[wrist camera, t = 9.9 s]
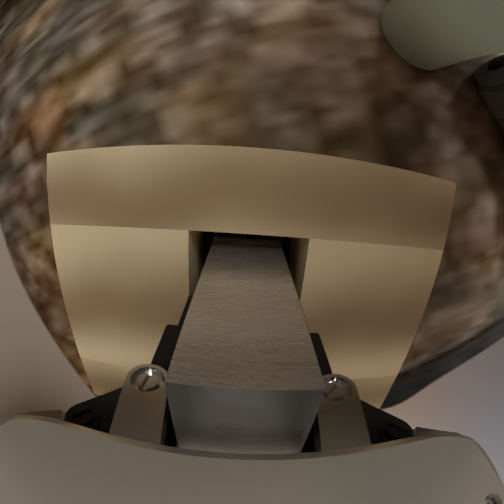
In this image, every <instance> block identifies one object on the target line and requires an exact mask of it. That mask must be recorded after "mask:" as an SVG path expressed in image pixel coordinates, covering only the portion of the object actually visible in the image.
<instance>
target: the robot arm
mask: <svg viewBox="0 0 504 504" xmlns="http://www.w3.org/2000/svg"><path fill="white" fill-rule="evenodd" d="M192 298H193V295H189V297H188V299H187V302H186V304H185V307H184V310H183V313H182V315H181V318H180V321H179V323H178V325H171V324H168V325H167V326H166V327H165V330H164V332H163V335H162V337H161V339H160V342H159V344H158V347H157V349H156V352H155V354H154V357H153V359H152V362H151V364H143V365H139V366H136V367H134V368H132V369H131V370H130V371H129V372H128V374H127V376H126V378H125V381H124V384H123V387H121V388H118V389H116V390H113V391H111V392H108V393H106V394H103V395H101V396H98V397H95V398H93V399H90V400H87V401H85V402H82V403H79V404H77V405H75V406H73V407H71V408H70V409H69V410H68V411H67V413H63V412H62V410H52V411H25V412H15V413H13V414H12V415H10V417H9V418H7V419H5V420H4V421H2V422H1V423H0V504H504V485H503V483H502V480H501V478H500V476H499V474H498V473H497V471H496V469H495V467H494V465H493V463H492V462H491V460H490V458H489V457H488V455H487V454H486V452H485V451H484V450H483V448H482V447H481V446H480V445H479V444H478V443H477V442H476V441H475V440H474V439H472V438H470V437H468V436H464V435H461V434H459V433H455V432H447V431H439V430H433V429H426V428H420V427H416V428H415V429H414V430H413V429H411V427H410V426H409V425H408V424H407V423H406V422H404V421H403V420H401V419H399V418H397V417H395V416H393V415H390V414H388V413H386V412H384V411H382V410H380V409H378V408H376V407H374V406H372V405H370V404H368V403H366V402H364V401H362V400H360V397H359V394H358V390H357V387H356V385H355V383H354V382H353V381H352V380H351V379H349V378H347V377H346V376H343V375H340V374H333V373H332V370H331V367H330V364H329V361H328V358H327V355H326V352H325V350H324V347H323V344H322V341H321V338H320V335H319V334H318V333H310V332H309V334H310V337H311V340H312V344H313V347H314V350H315V354H316V357H317V360H318V364H319V367H320V371H321V374H322V377H323V381H324V384H325V388H326V390H325V393H324V396H323V398H322V401H321V404H320V406H319V409H318V412H317V414H316V417H315V419H314V422H313V424H312V427H311V429H310V432H309V434H308V437H307V439H306V441H305V444H304V446H303V448H302V450H301V453H288V454H242V453H223V452H211V451H201V450H192V449H184V448H178V443H177V439H176V434H175V430H174V426H173V421H172V417H171V412H170V408H169V403H168V398H167V392H166V387H165V379H166V375H167V372H168V369H169V366H170V363H171V360H172V357H173V354H174V351H175V347H176V344H177V341H178V338H179V335H180V332H181V329H182V326H183V324H184V321H185V318H186V315H187V312H188V309H189V306H190V303H191V300H192ZM300 305H301V303H300ZM301 308H302V306H301ZM302 311H303V310H302ZM303 314H304V313H303ZM304 318H305V316H304ZM305 321H306V319H305ZM306 324H307V322H306ZM307 327H308V326H307ZM308 331H309V329H308Z"/></svg>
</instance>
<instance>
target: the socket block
mask: <svg viewBox="0 0 504 504" xmlns="http://www.w3.org/2000/svg"><path fill="white" fill-rule="evenodd" d="M456 185H457V183H456V182H452V181H449V180H445V179H441V178H437V177H434V176H430V175H426V174H422V173H418V172H413V171H409V170H405V169H400V168H396V167H391V166H386V165H381V164H376V163H371V162H365V161H359V160H354V159H348V158H341V157H335V156H328V155H321V154H313V153H305V152H297V151H288V150H277V149H266V148H253V147H238V146H217V145H138V146H118V147H103V148H91V149H81V150H71V151H63V152H55V153H48V154H47V186H48V203H49V215H50V225H51V233H52V241H53V248H54V254H55V260H56V266H57V271H58V276H59V281H60V286H61V291H62V295H63V299H64V303H65V307H66V311H67V315H68V319H69V322H70V326H71V329H72V333H73V336H74V339H75V342H76V345H77V348H78V351H79V354H80V357H81V360H82V363H83V366H84V369H85V371H86V374H87V376H88V379H89V382H90V384H91V387H92V389H93V391H94V394H98V395H103V394H106V393H108V392H111V391H113V390H116V389H118V388H121V387H123V384H124V381H125V378H126V376H127V374H128V372H129V371H130V370H131V369H132V368H134V367H136V366H139V365H143V364H151V362H152V359H153V357H154V354H155V352H156V349H157V347H158V344H159V342H160V339H161V337H162V335H163V332H164V330H165V327H166V326H167V325H168V324H171V325H178V323H179V321H180V318H181V315H182V313H183V310H184V307H185V304H186V302H187V299H188V297H189V295H194V292H195V289H196V286H197V283H198V281H199V278H200V275H201V272H202V270H203V234H204V231H207V232H224V233H239V234H255V235H269V236H283V237H291V245H290V253H289V261H288V267H289V270H290V274H291V277H292V280H293V283H294V286H295V289H296V292H297V295H298V299H299V302H300V303H301V306H302V310H303V313H304V316H305V319H306V322H307V326H308V329H309V332H310V333H318V334H319V335H320V338H321V341H322V344H323V347H324V350H325V352H326V355H327V358H328V361H329V364H330V367H331V370H332V373H333V374H340V375H343V376H346V377H347V378H349V379H351V380H352V381H353V382H354V383H355V385H356V387H357V390H358V394H359V397H360V400H362V401H364V402H366V403H368V404H370V405H372V406H374V407H376V408H378V409H380V407H381V405H382V403H383V401H384V400H385V398H386V396H387V394H388V392H389V390H390V388H391V386H392V385H393V383H394V381H395V379H396V377H397V375H398V373H399V370H400V368H401V366H402V364H403V362H404V360H405V358H406V356H407V353H408V351H409V349H410V346H411V344H412V342H413V339H414V337H415V335H416V332H417V330H418V327H419V325H420V322H421V319H422V317H423V314H424V311H425V309H426V306H427V303H428V300H429V297H430V294H431V291H432V288H433V285H434V282H435V279H436V275H437V272H438V268H439V265H440V261H441V258H442V254H443V250H444V246H445V242H446V238H447V233H448V229H449V224H450V219H451V214H452V209H453V204H454V198H455V191H456Z"/></svg>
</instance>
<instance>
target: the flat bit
mask: <svg viewBox="0 0 504 504" xmlns="http://www.w3.org/2000/svg"><path fill="white" fill-rule="evenodd" d="M165 387H166V392H167V398H168V403H169V408H170V412H171V417H172V421H173V426H174V430H175V434H176V439H177V443H178V447H179V448H184V449H192V450H201V451H211V452H223V453H242V454H288V453H301V450H302V448H303V446H304V444H305V441H306V439H307V437H308V434H309V432H310V429H311V427H312V424H313V422H314V419H315V417H316V414H317V412H318V409H319V406H320V404H321V401H322V398H323V396H324V393H325V390H326V388H325V384H324V381H323V377H322V374H321V371H320V367H319V364H318V360H317V357H316V354H315V350H314V347H313V344H312V340H311V337H310V334H309V331H308V327H307V324H306V321H305V318H304V314H303V311H302V308H301V305H300V302H299V299H298V295H297V292H296V289H295V286H294V283H293V280H292V277H291V274H290V270H289V267H288V264H287V261H286V258H285V255H284V252H283V249H282V246H281V243H280V241H277V240H262V239H247V238H231V237H214V240H213V243H212V245H211V248H210V251H209V253H208V256H207V259H206V261H205V264H204V267H203V270H202V272H201V275H200V278H199V281H198V283H197V286H196V289H195V292H194V295H193V298H192V300H191V303H190V306H189V309H188V312H187V315H186V318H185V321H184V324H183V326H182V329H181V332H180V335H179V338H178V341H177V344H176V347H175V351H174V354H173V357H172V360H171V363H170V366H169V369H168V372H167V375H166V379H165Z"/></svg>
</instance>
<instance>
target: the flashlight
mask: <svg viewBox="0 0 504 504" xmlns="http://www.w3.org/2000/svg"><path fill="white" fill-rule="evenodd" d="M474 77H475V78H476V80H477V82H478V91H479V93H480V94H481V96H482V98H483V100H484V102H485V104H486V105H487V107H488V109H489V111H490V113H491V114H492V115H493V116H495V117H497V119H498V121H499V124H500V126H501V128H502V129H503V130H504V55H502V56H499V57H496V58H494V59H492V60H490V61H488V62H487V63H485V64H483V65H482V66H481V67H479V68H478V69H477V70H476V71H475V73H474Z"/></svg>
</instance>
